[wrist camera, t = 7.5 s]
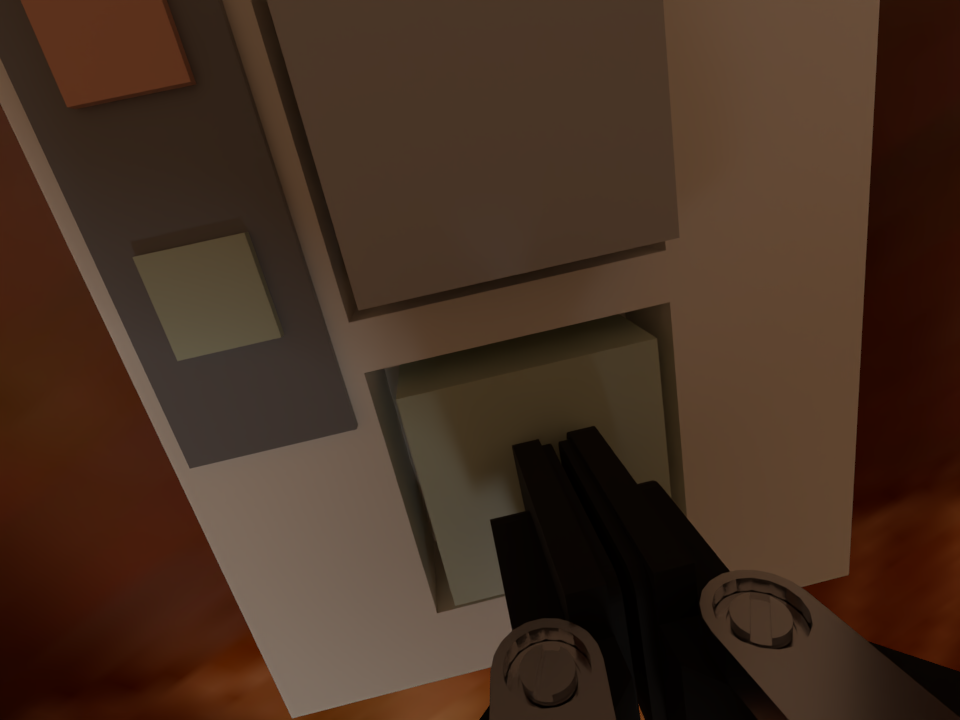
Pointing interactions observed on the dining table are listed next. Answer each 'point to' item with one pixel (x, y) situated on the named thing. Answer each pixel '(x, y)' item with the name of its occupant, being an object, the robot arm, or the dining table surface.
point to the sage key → (523, 427)
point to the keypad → (447, 309)
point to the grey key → (482, 134)
